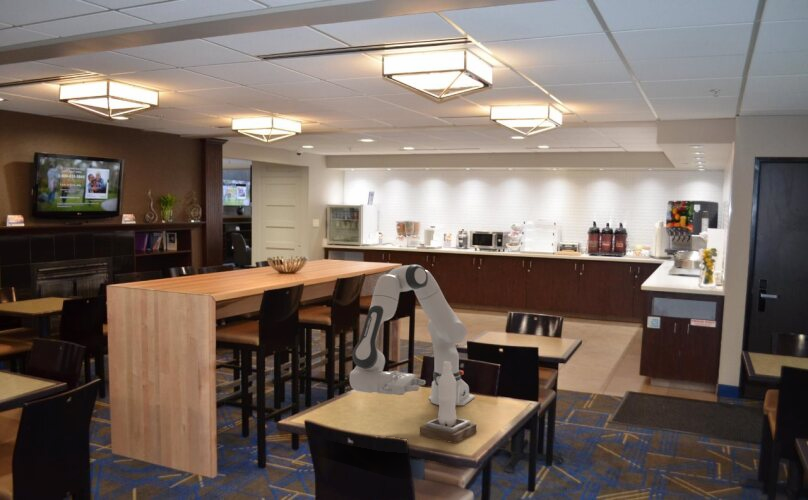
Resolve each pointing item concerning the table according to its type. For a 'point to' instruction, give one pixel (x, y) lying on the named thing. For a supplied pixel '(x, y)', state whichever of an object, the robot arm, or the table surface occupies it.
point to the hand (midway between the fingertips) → (421, 385)
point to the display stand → (448, 430)
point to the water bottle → (447, 396)
